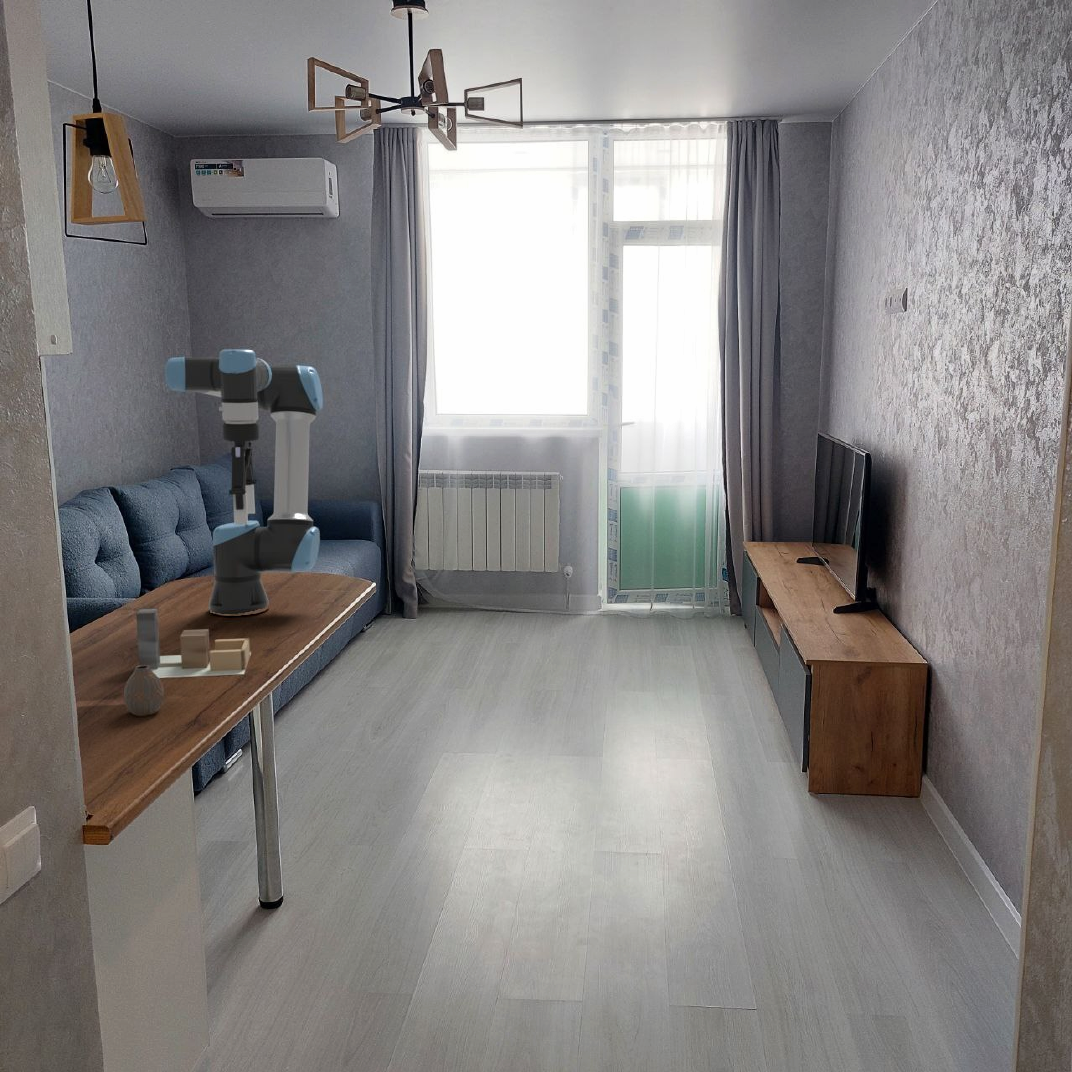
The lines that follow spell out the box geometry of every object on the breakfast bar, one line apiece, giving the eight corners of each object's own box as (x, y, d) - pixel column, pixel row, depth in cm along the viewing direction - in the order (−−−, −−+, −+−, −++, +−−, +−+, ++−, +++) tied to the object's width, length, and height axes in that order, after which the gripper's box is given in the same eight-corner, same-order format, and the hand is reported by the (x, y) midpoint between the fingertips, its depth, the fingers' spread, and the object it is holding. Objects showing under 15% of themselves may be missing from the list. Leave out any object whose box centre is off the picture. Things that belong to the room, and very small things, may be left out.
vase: (131, 706, 188) (129, 661, 187) (169, 705, 189) (166, 661, 187) (119, 719, 181) (116, 672, 180) (158, 718, 182) (156, 672, 180)
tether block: (143, 663, 211) (140, 608, 209) (210, 660, 214) (207, 606, 212) (138, 670, 207) (135, 614, 205) (206, 667, 209) (204, 612, 207)
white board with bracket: (146, 661, 217) (145, 638, 216) (251, 656, 221) (250, 634, 220) (131, 683, 201) (129, 659, 200) (244, 678, 205) (243, 655, 204)
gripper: (230, 417, 227) (234, 509, 231) (213, 427, 203) (219, 529, 207) (264, 417, 228) (268, 509, 232) (251, 426, 204) (256, 528, 208)
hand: (245, 518), depth 220 cm, fingers open, 13 cm apart
